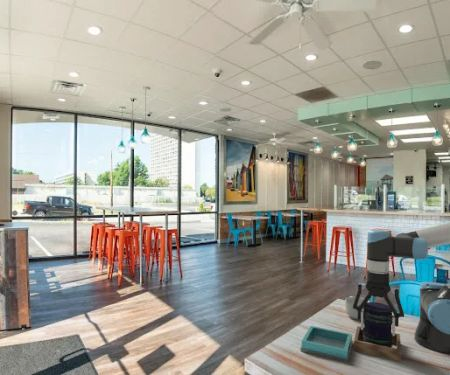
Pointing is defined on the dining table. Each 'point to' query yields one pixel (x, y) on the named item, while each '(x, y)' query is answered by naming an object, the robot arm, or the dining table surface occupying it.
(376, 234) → the robot arm
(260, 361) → the dining table surface
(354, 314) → the teacup
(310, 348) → the teal square tray
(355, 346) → the walnut holder
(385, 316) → the navy oil drum
